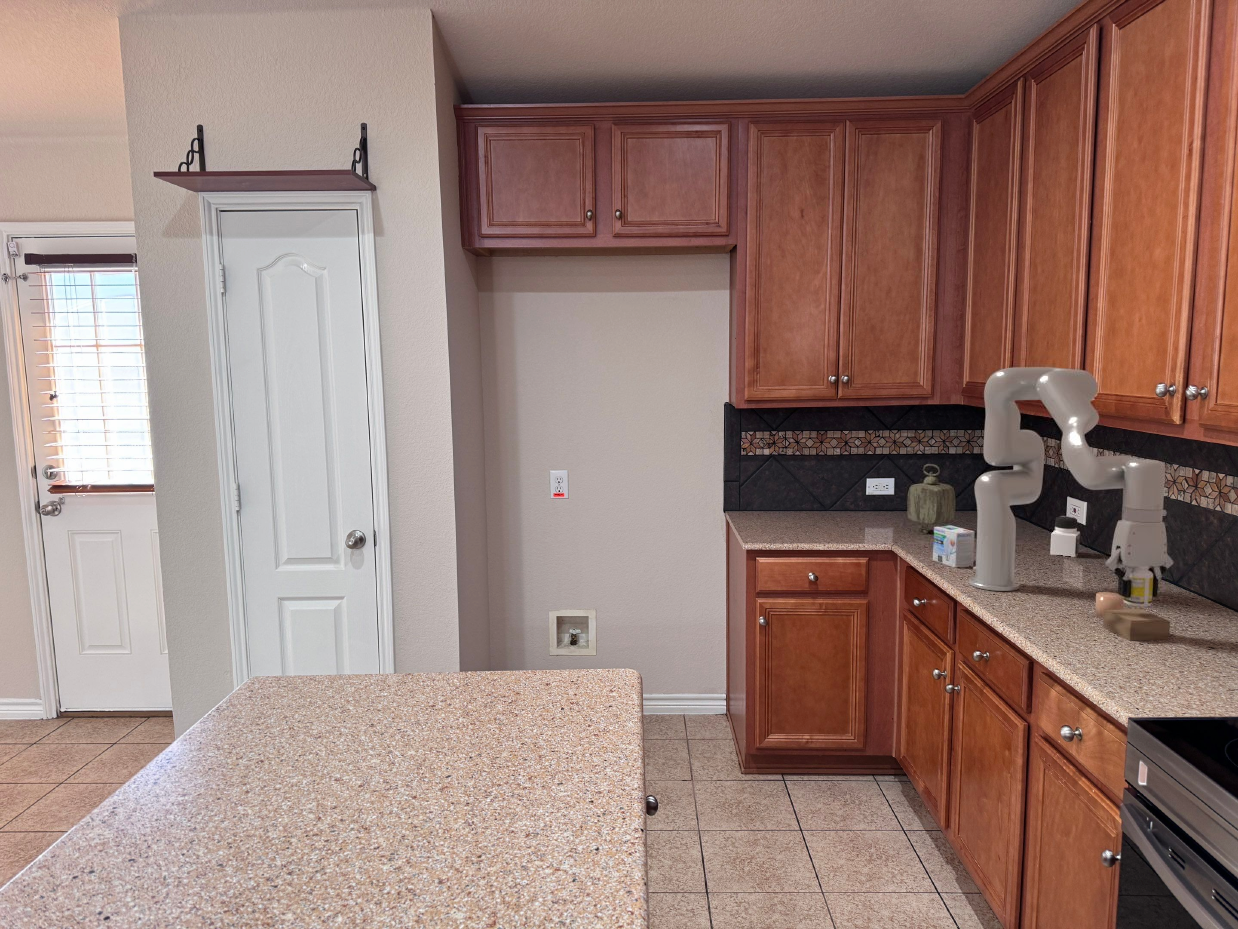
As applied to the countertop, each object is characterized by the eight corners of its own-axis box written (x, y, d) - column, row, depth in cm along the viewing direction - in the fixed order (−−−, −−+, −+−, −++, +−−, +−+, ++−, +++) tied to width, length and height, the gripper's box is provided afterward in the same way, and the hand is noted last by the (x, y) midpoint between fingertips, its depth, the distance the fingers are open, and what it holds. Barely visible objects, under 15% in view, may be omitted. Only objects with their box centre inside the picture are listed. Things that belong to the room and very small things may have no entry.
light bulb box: (931, 560, 255) (933, 526, 254) (950, 558, 257) (951, 524, 256) (955, 568, 245) (957, 532, 244) (974, 566, 247) (975, 531, 246)
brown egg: (1089, 612, 200) (1090, 592, 199) (1113, 611, 200) (1114, 591, 200) (1105, 620, 194) (1106, 599, 193) (1130, 619, 194) (1131, 598, 194)
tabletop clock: (954, 534, 293) (956, 465, 290) (938, 537, 288) (940, 467, 285) (920, 528, 305) (922, 461, 302) (904, 531, 300) (905, 463, 297)
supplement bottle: (1141, 600, 186) (1143, 557, 185) (1157, 607, 181) (1160, 563, 179) (1117, 600, 186) (1119, 558, 185) (1133, 607, 180) (1135, 564, 179)
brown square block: (1102, 627, 188) (1103, 609, 188) (1140, 626, 189) (1141, 608, 188) (1129, 640, 179) (1130, 621, 179) (1168, 639, 180) (1170, 620, 179)
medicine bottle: (1075, 557, 256) (1077, 519, 254) (1050, 555, 260) (1051, 517, 258) (1079, 553, 261) (1081, 516, 260) (1054, 550, 265) (1055, 514, 264)
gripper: (1166, 511, 185) (1161, 590, 187) (1093, 513, 184) (1089, 592, 186) (1191, 517, 178) (1186, 599, 180) (1116, 519, 177) (1111, 601, 179)
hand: (1137, 595), depth 183 cm, fingers closed on supplement bottle, 5 cm apart
